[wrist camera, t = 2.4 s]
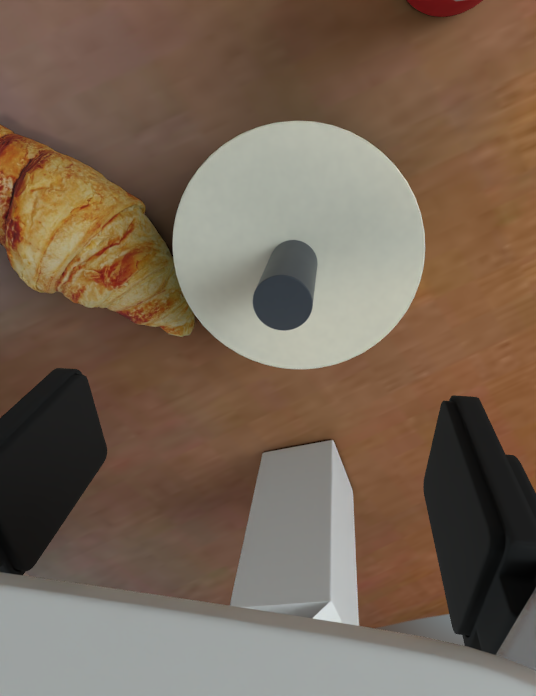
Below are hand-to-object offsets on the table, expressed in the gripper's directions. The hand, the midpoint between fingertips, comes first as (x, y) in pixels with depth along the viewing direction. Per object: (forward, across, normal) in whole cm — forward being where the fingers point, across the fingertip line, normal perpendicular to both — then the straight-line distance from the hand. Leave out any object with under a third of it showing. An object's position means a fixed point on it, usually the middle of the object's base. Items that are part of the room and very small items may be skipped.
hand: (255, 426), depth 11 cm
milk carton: (+22, 0, +24) cm, 32 cm away
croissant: (+22, +17, +1) cm, 27 cm away
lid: (+14, 0, 0) cm, 14 cm away
